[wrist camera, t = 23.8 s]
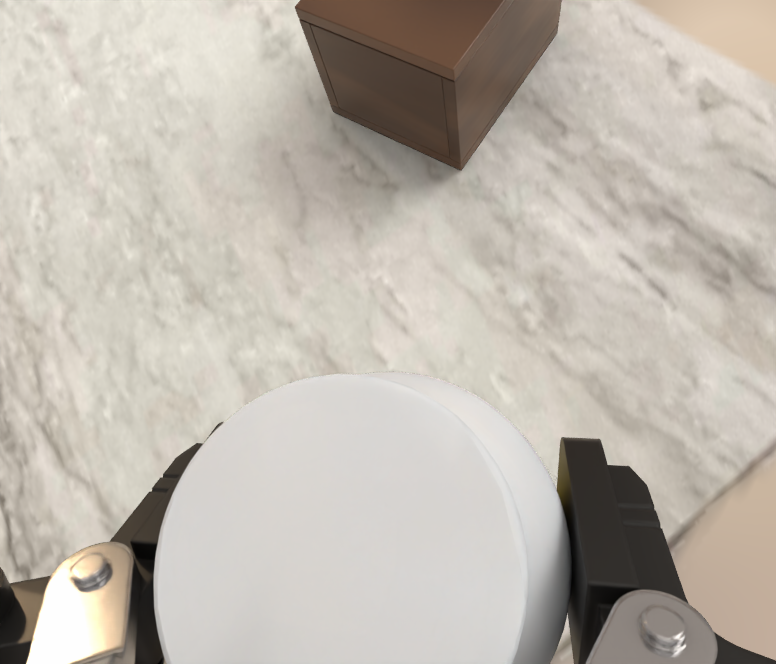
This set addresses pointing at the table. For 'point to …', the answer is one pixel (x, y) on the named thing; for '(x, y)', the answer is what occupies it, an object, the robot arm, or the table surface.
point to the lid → (411, 27)
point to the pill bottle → (363, 532)
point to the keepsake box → (434, 83)
